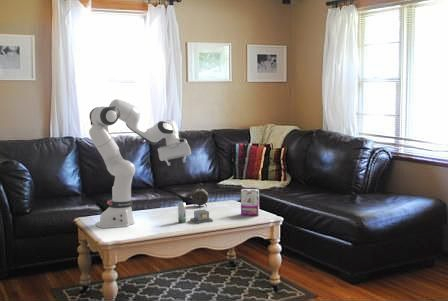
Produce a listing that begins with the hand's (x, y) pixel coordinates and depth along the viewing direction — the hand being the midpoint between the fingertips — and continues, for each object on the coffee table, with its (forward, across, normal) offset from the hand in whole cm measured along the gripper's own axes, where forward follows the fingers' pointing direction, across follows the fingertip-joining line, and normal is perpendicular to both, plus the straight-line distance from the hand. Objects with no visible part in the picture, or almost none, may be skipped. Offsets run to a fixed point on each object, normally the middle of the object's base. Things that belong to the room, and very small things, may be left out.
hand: (176, 163), depth 341 cm
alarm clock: (+12, +7, +48) cm, 50 cm away
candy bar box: (+32, +38, +29) cm, 58 cm away
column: (+35, -3, +10) cm, 36 cm away
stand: (+35, +8, +14) cm, 38 cm away
